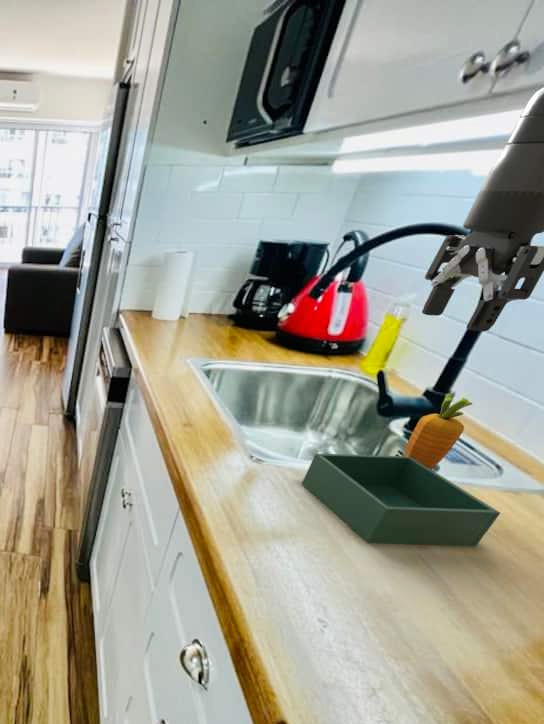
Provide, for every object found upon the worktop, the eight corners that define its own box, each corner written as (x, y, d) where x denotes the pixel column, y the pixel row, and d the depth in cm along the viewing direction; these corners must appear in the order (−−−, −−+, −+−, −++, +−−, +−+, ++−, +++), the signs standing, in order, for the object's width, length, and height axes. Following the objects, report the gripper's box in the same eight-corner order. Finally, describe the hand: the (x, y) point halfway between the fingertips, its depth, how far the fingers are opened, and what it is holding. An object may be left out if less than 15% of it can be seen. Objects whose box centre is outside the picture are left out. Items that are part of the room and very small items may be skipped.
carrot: (390, 469, 80) (437, 386, 73) (429, 481, 77) (482, 395, 70) (385, 480, 77) (434, 394, 70) (426, 493, 74) (482, 405, 67)
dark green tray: (392, 486, 76) (409, 456, 73) (475, 546, 63) (501, 512, 61) (301, 483, 76) (315, 453, 73) (367, 542, 64) (387, 508, 61)
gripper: (622, 190, 51) (528, 338, 59) (511, 188, 63) (445, 311, 72) (540, 188, 52) (459, 334, 60) (446, 186, 65) (389, 308, 73)
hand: (452, 322), depth 66 cm, fingers open, 8 cm apart
